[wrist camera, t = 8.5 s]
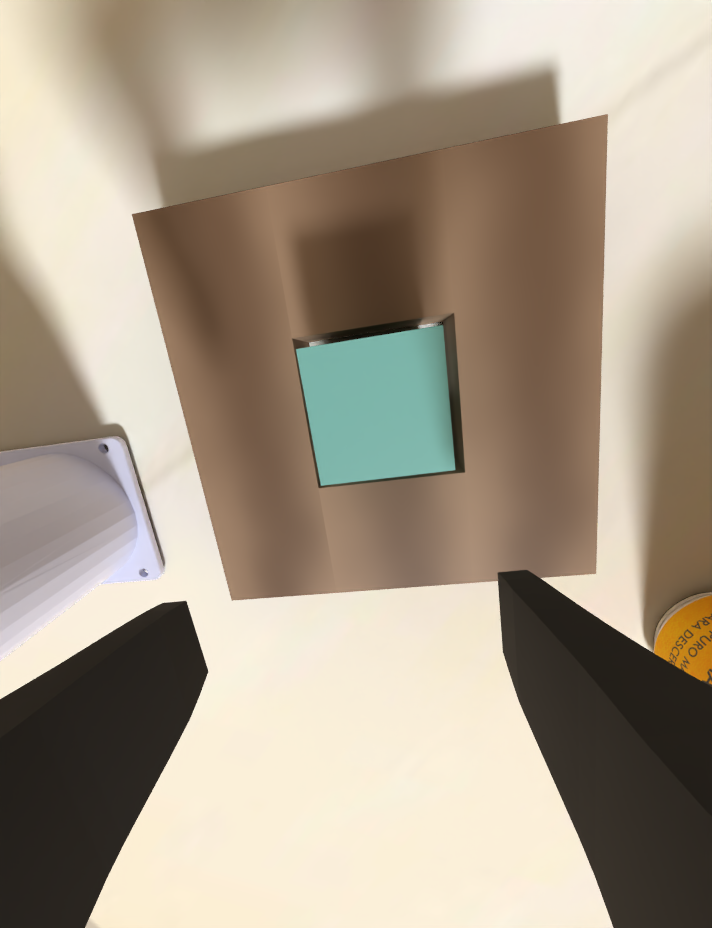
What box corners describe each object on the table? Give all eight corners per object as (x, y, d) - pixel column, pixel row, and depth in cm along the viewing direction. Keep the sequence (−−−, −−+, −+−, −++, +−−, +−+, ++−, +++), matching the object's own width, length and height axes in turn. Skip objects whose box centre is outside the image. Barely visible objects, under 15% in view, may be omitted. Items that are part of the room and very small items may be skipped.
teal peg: (346, 439, 18) (320, 485, 11) (333, 354, 17) (295, 349, 10) (429, 428, 17) (455, 469, 11) (420, 339, 16) (443, 325, 10)
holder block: (254, 566, 20) (231, 600, 17) (177, 240, 16) (132, 214, 13) (563, 540, 18) (596, 573, 15) (563, 164, 14) (607, 114, 11)
